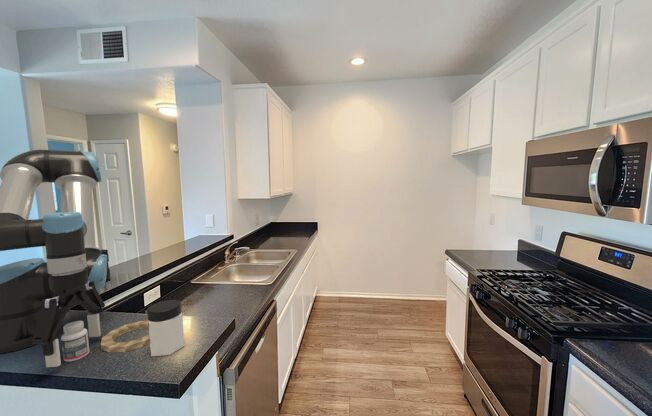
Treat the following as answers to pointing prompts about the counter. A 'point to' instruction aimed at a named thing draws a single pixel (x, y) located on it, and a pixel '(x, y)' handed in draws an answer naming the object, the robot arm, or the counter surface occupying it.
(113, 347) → the bead ring
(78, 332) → the pill bottle
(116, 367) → the counter surface
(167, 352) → the jar
